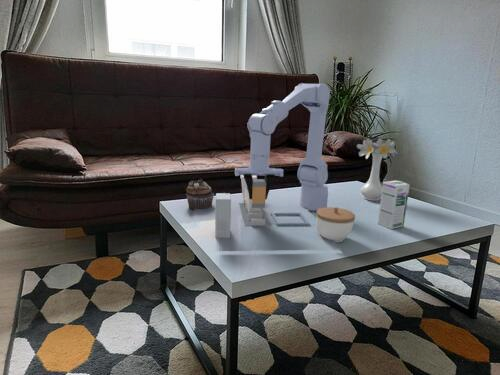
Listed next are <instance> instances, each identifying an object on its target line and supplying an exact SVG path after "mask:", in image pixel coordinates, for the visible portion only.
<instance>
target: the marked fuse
mask: <svg viewBox="0 0 500 375" xmlns="http://www.w3.org/2000/svg"><path fill="white" fill-rule="evenodd" d="M265 197H266V181H265V178H264V179H263V178H262V179H261V178H259V179H258V178H257V179H253V183H252V199H251V202H250V204H251V207H252V208H263V209H265V208H266V199H265Z"/></svg>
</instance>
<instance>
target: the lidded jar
mask: <svg viewBox="0 0 500 375" xmlns="http://www.w3.org/2000/svg"><path fill="white" fill-rule="evenodd" d="M315 216H316V217H315V218H316V220H315V224H316V229H317V232H318V233H319V234H320V236H321V237H322V238H324V239H327V240H330V241H334V242H335V243H341V242H344V241H345V239H347V238H348V237H349V236H350V235H351V233H352V231H353V228H354V223H355V218H356V215H355V212H354V213H353V212H352V211H351V210H347V209H344V208H340V207H337V206H334V207H332V206H329V207H325V208H320V209H318V210H317V211H316V215H315Z"/></svg>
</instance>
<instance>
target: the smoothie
mask: <svg viewBox="0 0 500 375" xmlns="http://www.w3.org/2000/svg"><path fill="white" fill-rule="evenodd" d="M248 168H250V163H248ZM239 176H240V179H241V192H242V193H241V194H242V199H243V200H244V198H245V185H246V181H245V179H244V176H243V175H239ZM252 179H258V176H252Z"/></svg>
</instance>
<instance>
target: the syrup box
mask: <svg viewBox="0 0 500 375" xmlns="http://www.w3.org/2000/svg"><path fill="white" fill-rule="evenodd" d="M410 185H411V184H410V183H407V182H405V181H401V180H390V181H383V182H382V186H383V187H382V195H381V198H380V205H379V212H378V217H377V218H378V220H377V224H378V225H380V226H383V227H384V228H388V229H390V230H393V229H398V228H404V225H405V218H406V213H407V212H406V210H407V205H408V200H409V199H408V198H409V194H410V193H409V191H410V187H411V186H410Z"/></svg>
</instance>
